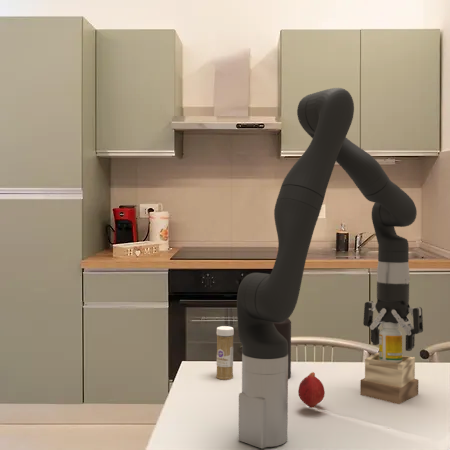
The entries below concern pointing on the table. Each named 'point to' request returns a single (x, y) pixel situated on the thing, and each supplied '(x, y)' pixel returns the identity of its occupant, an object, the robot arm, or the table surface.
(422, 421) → the table surface
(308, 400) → the onion
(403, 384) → the tower top
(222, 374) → the sprinkles bottle
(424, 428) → the table surface
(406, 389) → the tower base
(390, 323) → the supplement bottle
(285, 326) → the vinegar
